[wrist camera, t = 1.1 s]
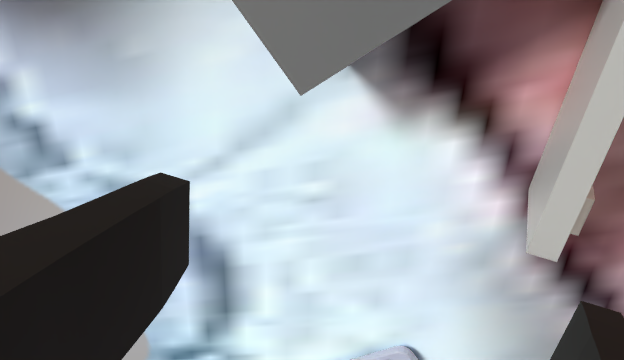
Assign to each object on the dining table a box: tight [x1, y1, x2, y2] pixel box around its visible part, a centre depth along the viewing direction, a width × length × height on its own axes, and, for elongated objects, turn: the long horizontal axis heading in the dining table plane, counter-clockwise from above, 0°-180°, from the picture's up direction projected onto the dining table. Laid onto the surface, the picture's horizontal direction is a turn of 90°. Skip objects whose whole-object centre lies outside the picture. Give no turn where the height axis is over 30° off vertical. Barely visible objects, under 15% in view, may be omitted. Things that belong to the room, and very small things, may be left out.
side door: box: [526, 0, 624, 262], centre depth 15 cm, size 10×1×3 cm, turn 173°
